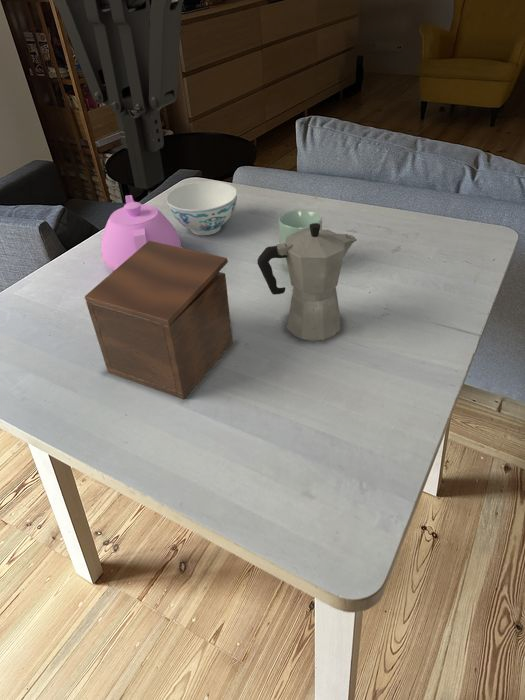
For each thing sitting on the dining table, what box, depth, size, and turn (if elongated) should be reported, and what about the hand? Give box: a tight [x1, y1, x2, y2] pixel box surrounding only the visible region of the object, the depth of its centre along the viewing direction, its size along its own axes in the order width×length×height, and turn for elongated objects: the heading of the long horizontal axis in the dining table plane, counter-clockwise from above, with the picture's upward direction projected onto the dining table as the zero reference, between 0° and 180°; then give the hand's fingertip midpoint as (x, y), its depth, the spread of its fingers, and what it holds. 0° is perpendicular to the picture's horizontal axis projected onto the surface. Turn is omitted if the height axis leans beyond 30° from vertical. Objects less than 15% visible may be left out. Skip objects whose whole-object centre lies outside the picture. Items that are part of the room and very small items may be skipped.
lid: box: [84, 241, 229, 325], centre depth 75 cm, size 15×14×1 cm
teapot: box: [100, 194, 182, 272], centre depth 104 cm, size 22×16×12 cm
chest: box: [85, 271, 234, 400], centre depth 79 cm, size 14×14×13 cm
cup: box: [277, 208, 323, 269], centre depth 100 cm, size 8×8×10 cm
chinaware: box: [165, 180, 238, 236], centre depth 115 cm, size 15×15×8 cm
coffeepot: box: [257, 223, 357, 342], centre depth 82 cm, size 15×9×18 cm, turn 106°
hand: (150, 182), depth 52 cm, fingers closed
